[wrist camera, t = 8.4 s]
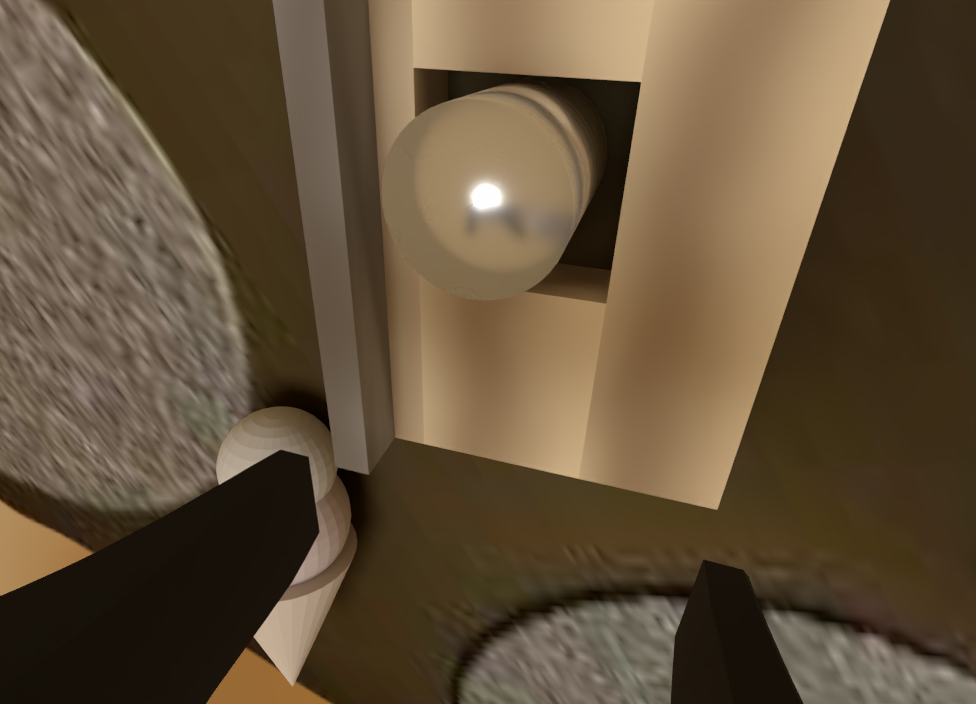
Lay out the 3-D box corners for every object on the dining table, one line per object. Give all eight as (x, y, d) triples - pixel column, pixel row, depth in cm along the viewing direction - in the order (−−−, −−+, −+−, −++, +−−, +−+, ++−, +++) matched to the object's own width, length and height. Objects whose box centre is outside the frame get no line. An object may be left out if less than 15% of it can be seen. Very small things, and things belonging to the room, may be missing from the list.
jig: (866, -31, 12) (949, -57, 9) (713, 458, 19) (721, 560, 16) (367, -40, 15) (264, -62, 11) (393, 392, 22) (335, 466, 18)
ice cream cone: (331, 617, 31) (325, 370, 26) (377, 707, 27) (382, 430, 21) (211, 667, 28) (175, 395, 22) (241, 780, 23) (205, 473, 18)
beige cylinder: (628, 98, 15) (601, 133, 10) (582, 238, 17) (541, 325, 12) (487, 58, 15) (394, 73, 10) (460, 198, 18) (372, 266, 13)
